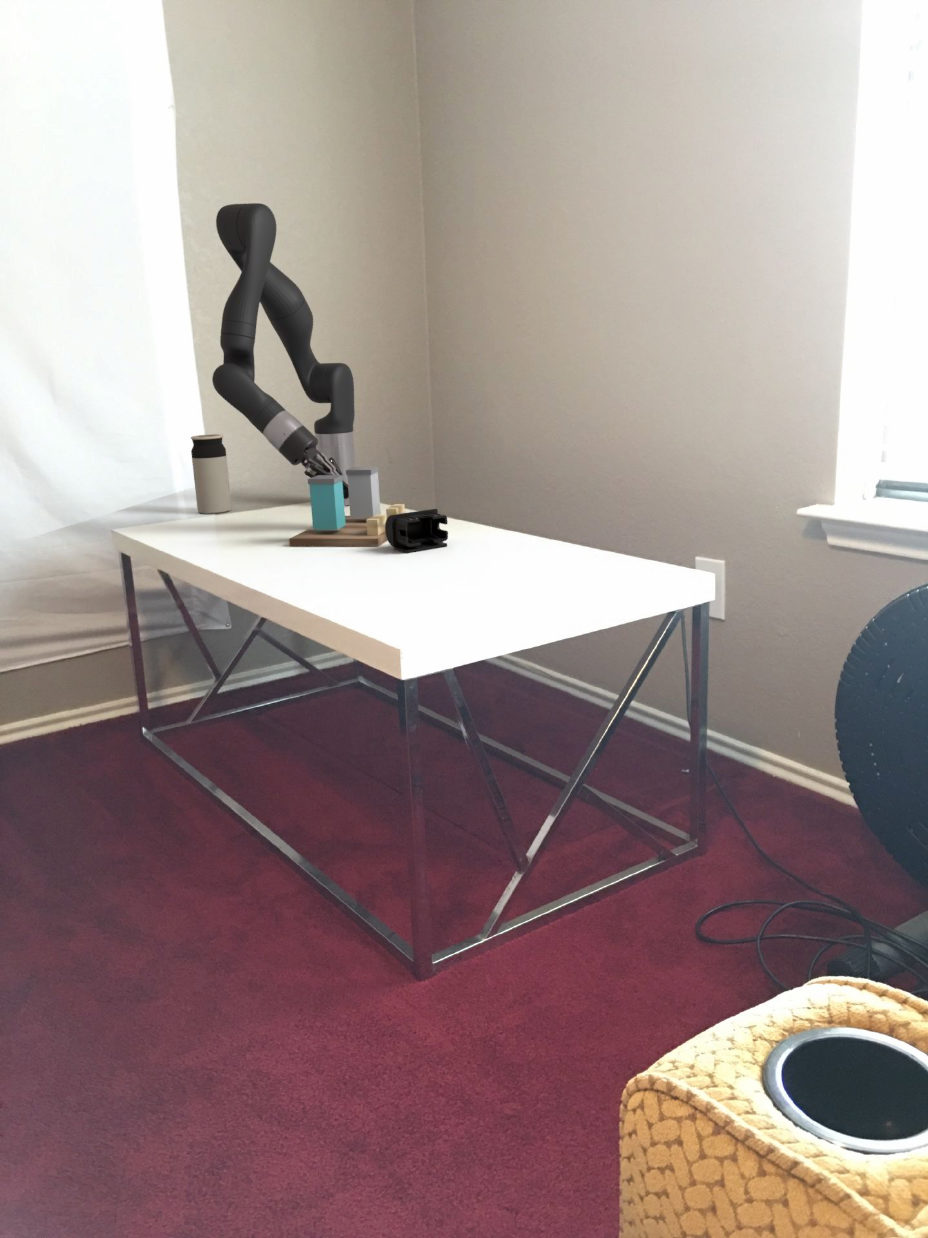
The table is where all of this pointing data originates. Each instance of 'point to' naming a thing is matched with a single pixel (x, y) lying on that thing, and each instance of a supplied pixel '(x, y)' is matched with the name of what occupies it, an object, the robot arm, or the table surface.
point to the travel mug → (211, 474)
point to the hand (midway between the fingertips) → (350, 495)
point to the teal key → (327, 502)
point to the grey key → (363, 492)
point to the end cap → (416, 531)
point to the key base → (350, 532)
